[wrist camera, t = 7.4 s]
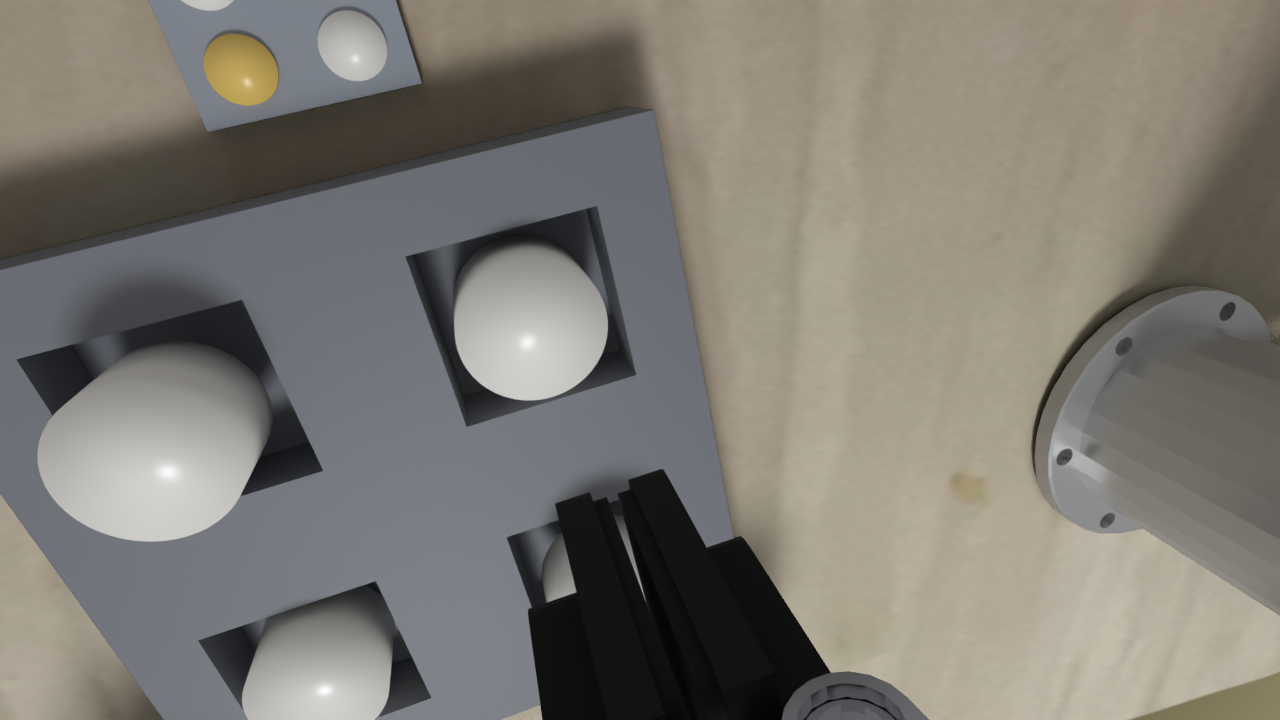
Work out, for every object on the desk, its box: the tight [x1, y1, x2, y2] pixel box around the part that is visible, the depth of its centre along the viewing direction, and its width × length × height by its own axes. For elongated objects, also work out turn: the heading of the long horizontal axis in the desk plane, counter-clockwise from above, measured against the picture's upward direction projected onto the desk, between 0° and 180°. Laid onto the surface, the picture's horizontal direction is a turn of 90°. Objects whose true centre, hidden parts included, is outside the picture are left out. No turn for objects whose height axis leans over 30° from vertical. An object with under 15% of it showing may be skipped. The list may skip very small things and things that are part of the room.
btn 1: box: [453, 235, 608, 400], centre depth 21 cm, size 4×4×3 cm
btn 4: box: [242, 585, 395, 720], centre depth 24 cm, size 4×4×3 cm
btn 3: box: [37, 341, 273, 542], centre depth 18 cm, size 4×4×3 cm
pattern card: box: [148, 0, 422, 132], centre depth 19 cm, size 6×5×1 cm
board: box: [0, 107, 734, 720], centre depth 23 cm, size 20×20×3 cm
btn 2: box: [541, 514, 646, 603], centre depth 24 cm, size 4×4×3 cm
